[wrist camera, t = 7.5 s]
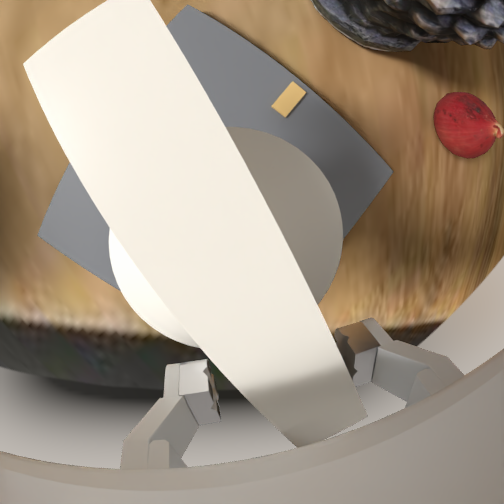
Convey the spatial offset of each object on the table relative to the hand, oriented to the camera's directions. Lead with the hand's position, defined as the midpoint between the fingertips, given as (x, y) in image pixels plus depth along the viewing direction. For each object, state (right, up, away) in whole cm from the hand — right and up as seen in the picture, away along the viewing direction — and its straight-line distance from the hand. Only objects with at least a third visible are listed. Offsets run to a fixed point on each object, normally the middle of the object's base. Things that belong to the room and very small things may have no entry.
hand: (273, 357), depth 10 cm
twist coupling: (-2, +5, +2) cm, 5 cm away
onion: (+17, +16, +11) cm, 26 cm away
